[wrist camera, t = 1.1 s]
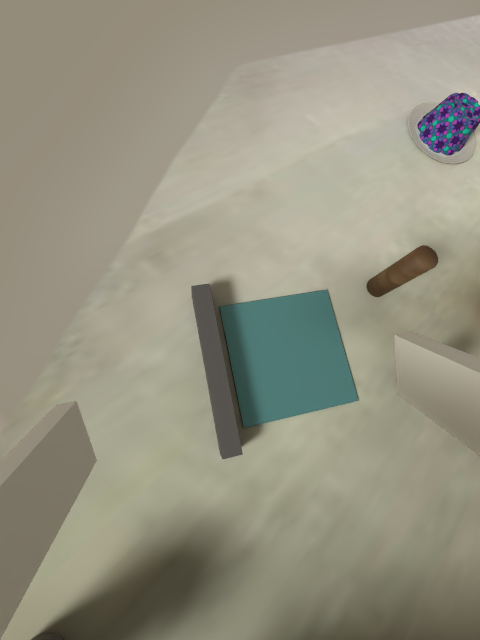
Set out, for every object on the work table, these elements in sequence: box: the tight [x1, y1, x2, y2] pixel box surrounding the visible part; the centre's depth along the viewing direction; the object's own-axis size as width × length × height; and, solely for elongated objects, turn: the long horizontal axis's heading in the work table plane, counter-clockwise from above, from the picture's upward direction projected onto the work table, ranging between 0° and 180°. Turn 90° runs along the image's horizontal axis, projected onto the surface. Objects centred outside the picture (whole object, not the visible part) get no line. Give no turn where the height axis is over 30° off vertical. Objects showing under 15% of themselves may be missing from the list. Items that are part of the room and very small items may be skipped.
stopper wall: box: [192, 284, 242, 459], centre depth 32 cm, size 18×2×3 cm, turn 12°
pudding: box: [408, 93, 480, 164], centre depth 46 cm, size 12×12×5 cm
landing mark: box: [220, 290, 359, 428], centre depth 35 cm, size 14×14×1 cm
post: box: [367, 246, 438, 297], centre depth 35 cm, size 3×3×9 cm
